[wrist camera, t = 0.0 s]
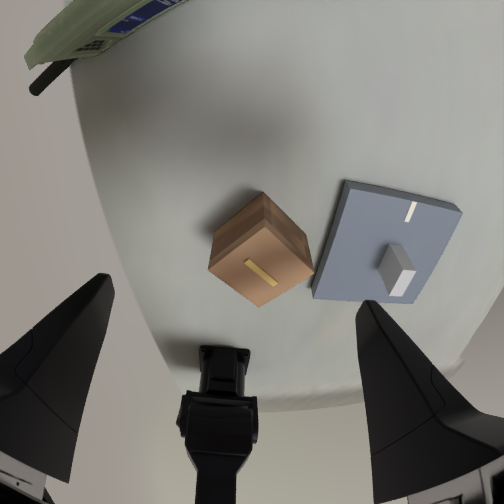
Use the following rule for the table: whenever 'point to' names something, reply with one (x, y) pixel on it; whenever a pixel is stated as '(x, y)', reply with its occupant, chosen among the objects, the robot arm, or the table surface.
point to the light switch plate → (383, 245)
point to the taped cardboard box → (260, 252)
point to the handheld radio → (88, 32)
